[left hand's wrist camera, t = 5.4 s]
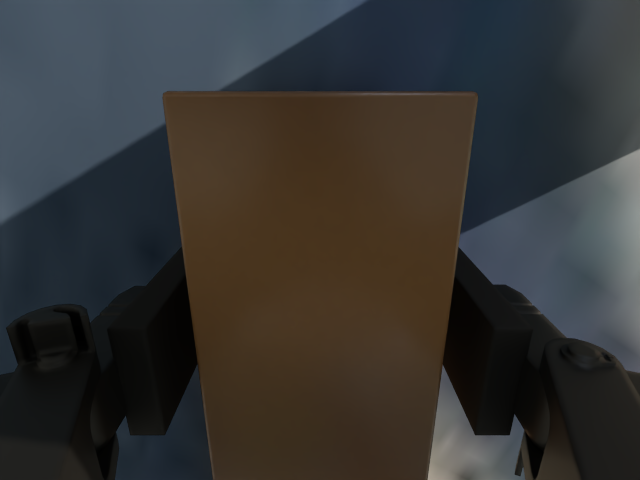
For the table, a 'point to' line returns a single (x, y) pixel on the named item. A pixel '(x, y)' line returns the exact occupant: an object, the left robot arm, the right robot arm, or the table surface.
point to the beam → (320, 272)
